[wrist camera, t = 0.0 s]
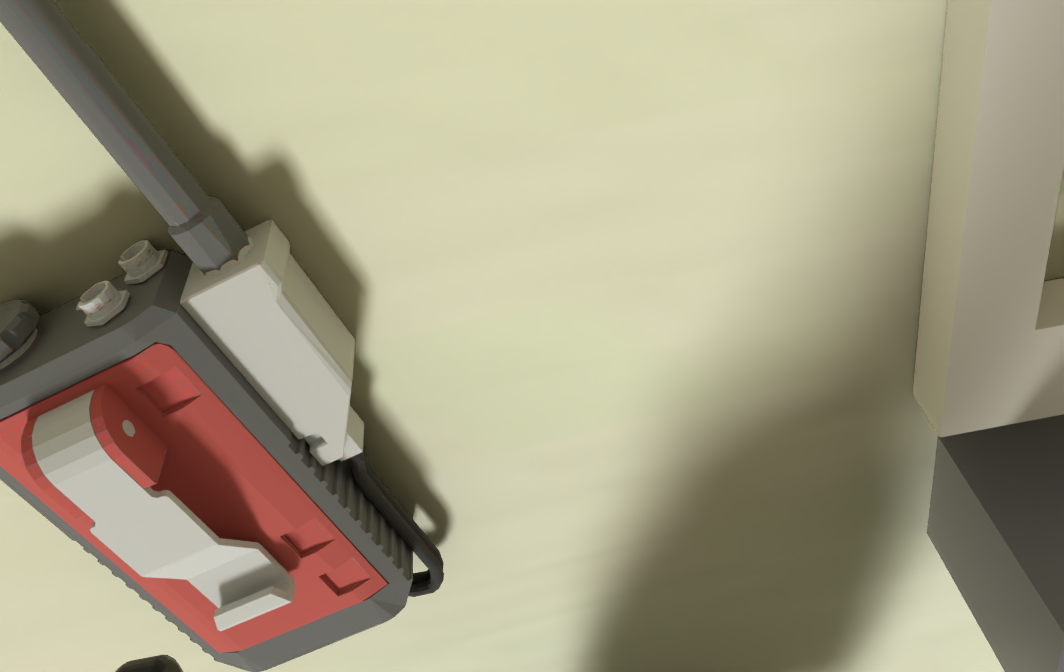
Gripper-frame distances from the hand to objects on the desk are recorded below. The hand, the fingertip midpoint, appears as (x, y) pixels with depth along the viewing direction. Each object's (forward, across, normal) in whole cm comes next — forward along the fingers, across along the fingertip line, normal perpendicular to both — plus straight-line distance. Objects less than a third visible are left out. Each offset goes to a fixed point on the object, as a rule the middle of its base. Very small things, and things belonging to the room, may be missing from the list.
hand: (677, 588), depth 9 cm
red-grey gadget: (+15, +10, +6) cm, 19 cm away
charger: (+15, -12, +16) cm, 25 cm away
